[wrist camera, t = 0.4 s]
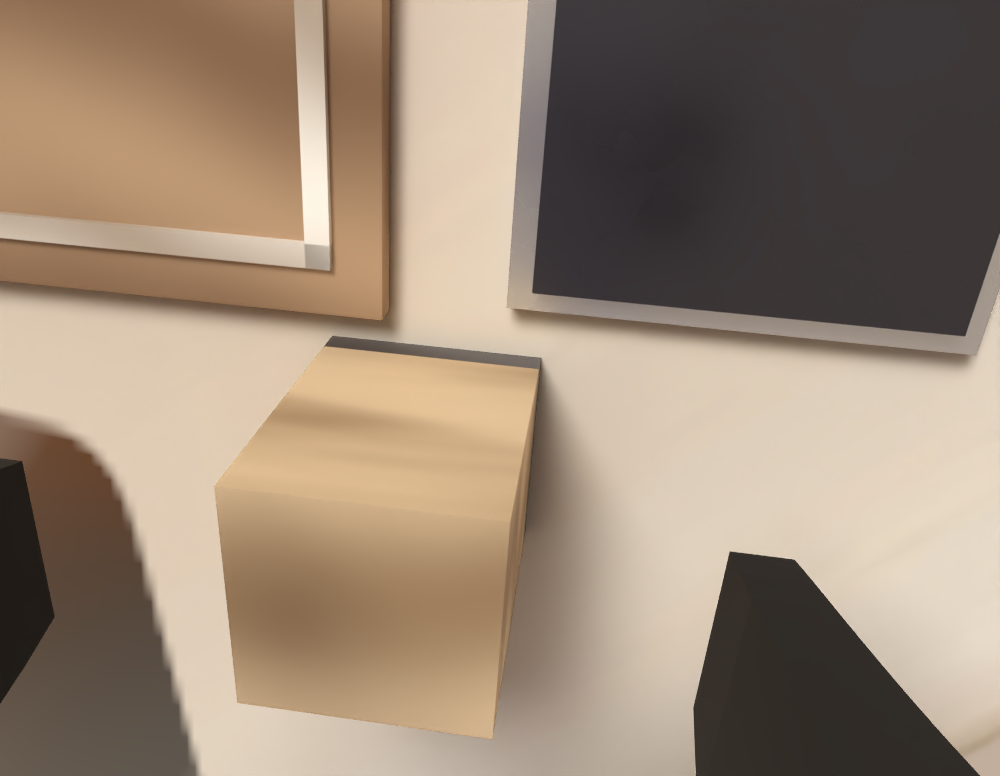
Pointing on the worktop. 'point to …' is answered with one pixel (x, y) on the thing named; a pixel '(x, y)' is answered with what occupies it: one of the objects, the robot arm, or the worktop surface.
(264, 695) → the stamp
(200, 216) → the board
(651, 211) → the pad
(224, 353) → the worktop surface
